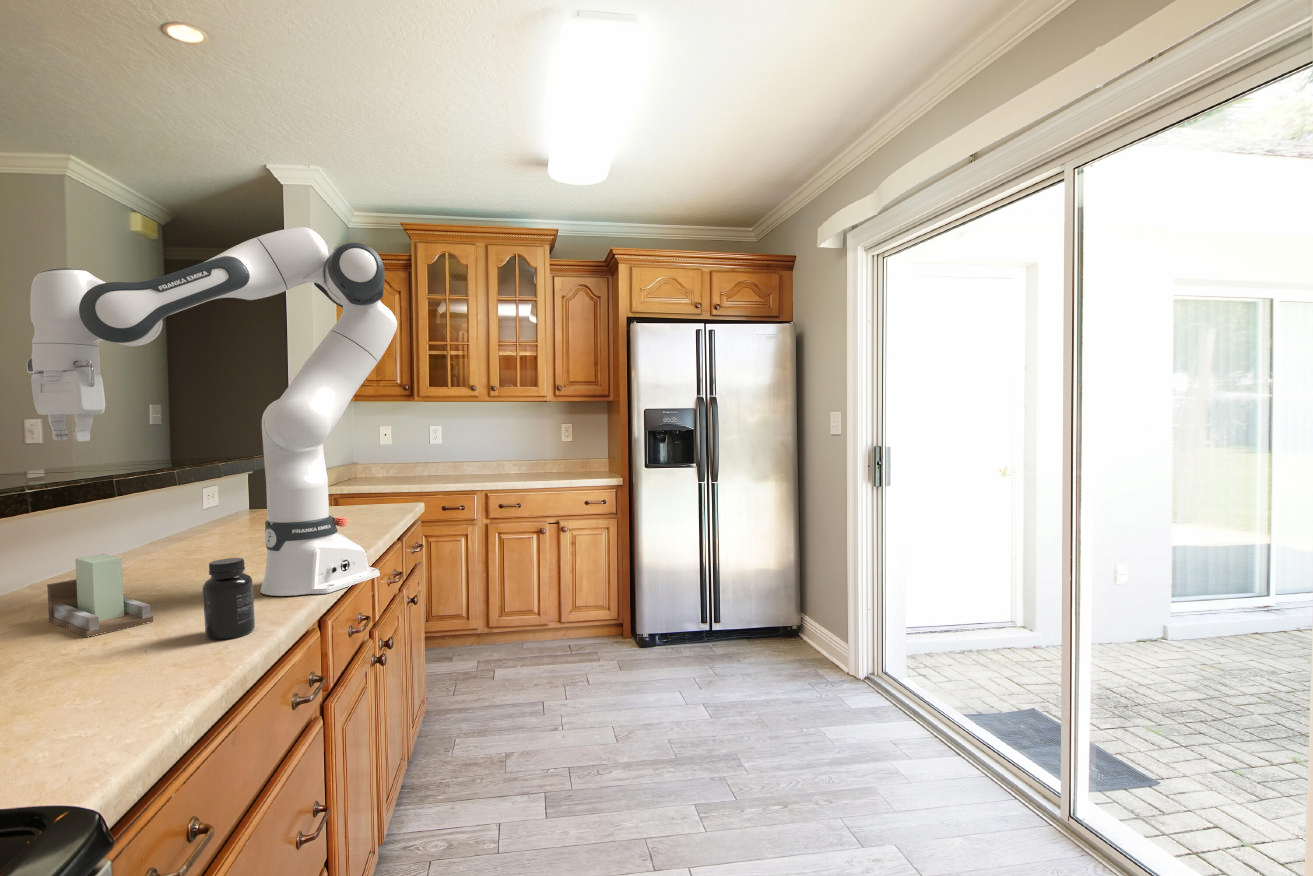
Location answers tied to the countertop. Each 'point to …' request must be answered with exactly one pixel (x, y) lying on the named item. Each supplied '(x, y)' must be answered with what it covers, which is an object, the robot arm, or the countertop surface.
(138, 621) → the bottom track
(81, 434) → the robot arm
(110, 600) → the pale green block
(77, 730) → the countertop surface
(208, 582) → the supplement bottle
